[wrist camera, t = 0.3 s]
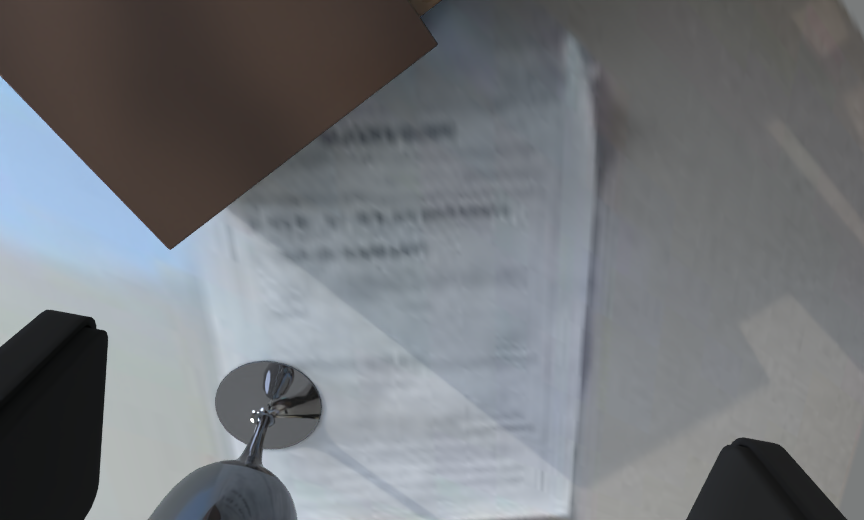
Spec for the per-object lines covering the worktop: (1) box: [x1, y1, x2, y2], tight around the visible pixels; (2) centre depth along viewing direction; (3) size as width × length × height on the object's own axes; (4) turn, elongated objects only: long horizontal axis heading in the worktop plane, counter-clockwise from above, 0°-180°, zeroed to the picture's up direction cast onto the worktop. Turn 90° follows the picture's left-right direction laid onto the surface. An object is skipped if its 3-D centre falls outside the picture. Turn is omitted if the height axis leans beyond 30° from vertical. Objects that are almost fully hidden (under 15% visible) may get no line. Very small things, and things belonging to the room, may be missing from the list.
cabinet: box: [0, 0, 438, 250], centre depth 29 cm, size 16×15×8 cm
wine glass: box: [148, 361, 321, 520], centre depth 35 cm, size 8×8×15 cm
